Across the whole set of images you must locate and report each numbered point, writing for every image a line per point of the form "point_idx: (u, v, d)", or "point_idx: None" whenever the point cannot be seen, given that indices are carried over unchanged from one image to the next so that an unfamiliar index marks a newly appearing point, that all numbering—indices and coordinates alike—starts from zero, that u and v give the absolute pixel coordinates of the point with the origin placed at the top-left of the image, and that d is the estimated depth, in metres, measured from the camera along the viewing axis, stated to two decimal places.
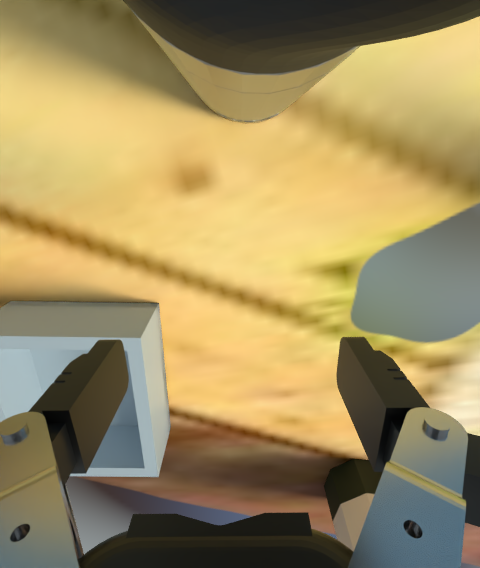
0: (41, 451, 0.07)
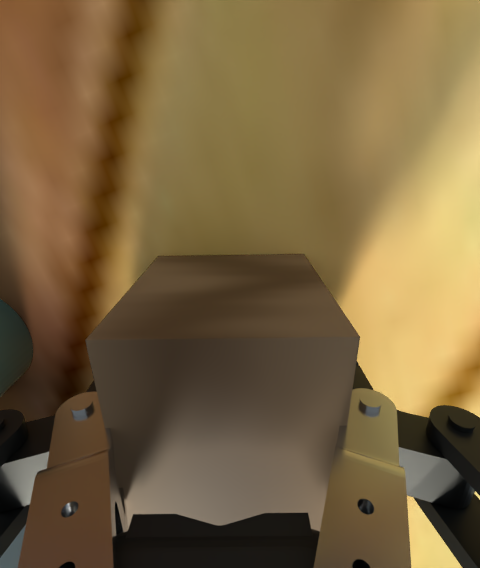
0: (100, 431, 0.07)
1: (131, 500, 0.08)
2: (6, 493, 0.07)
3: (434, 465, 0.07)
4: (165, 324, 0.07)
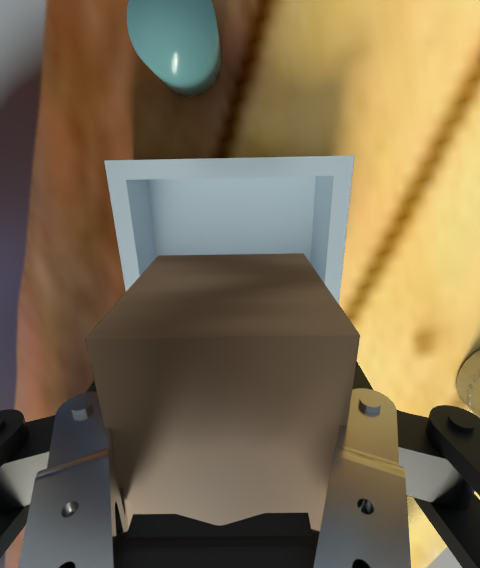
0: (101, 431, 0.07)
1: (131, 499, 0.08)
2: (6, 493, 0.07)
3: (434, 465, 0.07)
4: (165, 323, 0.07)
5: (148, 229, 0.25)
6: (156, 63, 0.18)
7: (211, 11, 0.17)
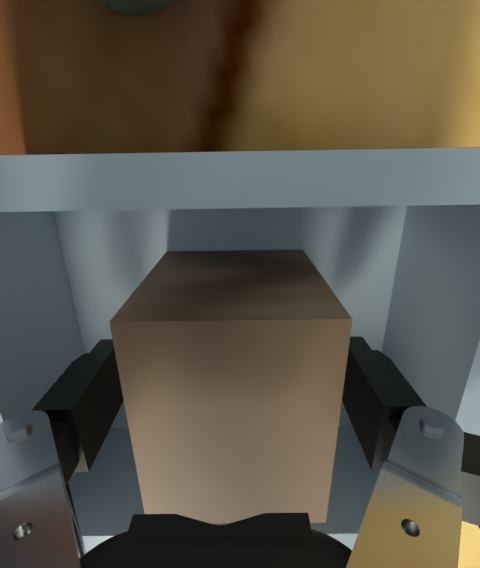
0: (44, 450, 0.07)
1: (146, 470, 0.09)
2: None
3: None
4: (179, 309, 0.08)
5: (53, 305, 0.12)
6: None
7: None
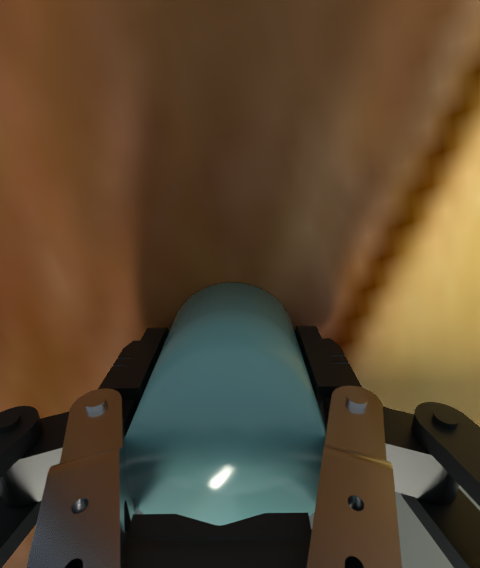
0: (113, 429, 0.07)
1: None
2: (20, 489, 0.07)
3: (418, 460, 0.07)
4: None
5: None
6: None
7: None
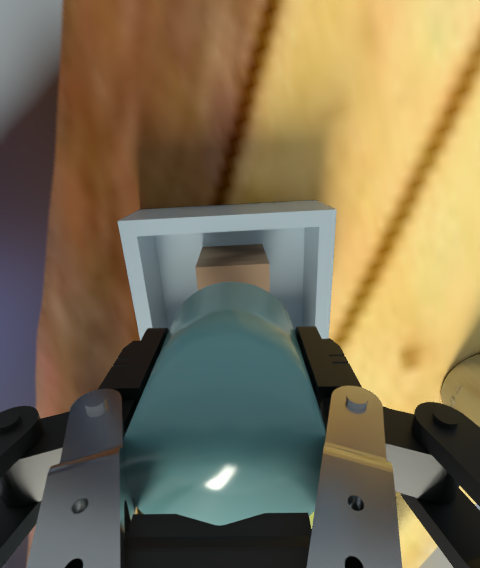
0: (113, 429, 0.07)
1: None
2: (20, 489, 0.07)
3: (418, 461, 0.07)
4: (215, 263, 0.24)
5: (155, 271, 0.28)
6: None
7: None
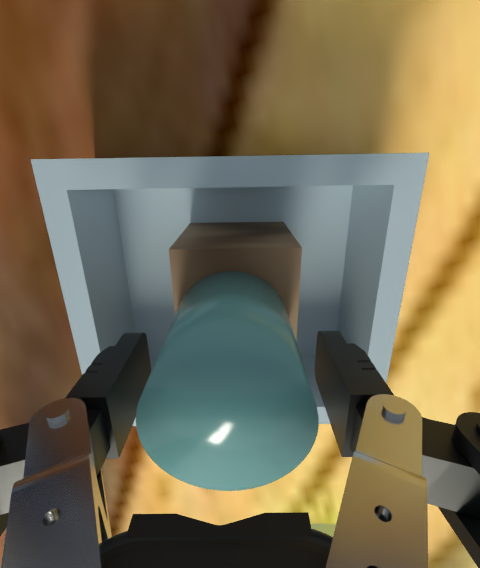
0: (79, 438, 0.07)
1: None
2: None
3: (462, 474, 0.07)
4: (206, 245, 0.14)
5: (114, 258, 0.18)
6: (192, 475, 0.09)
7: (310, 411, 0.08)
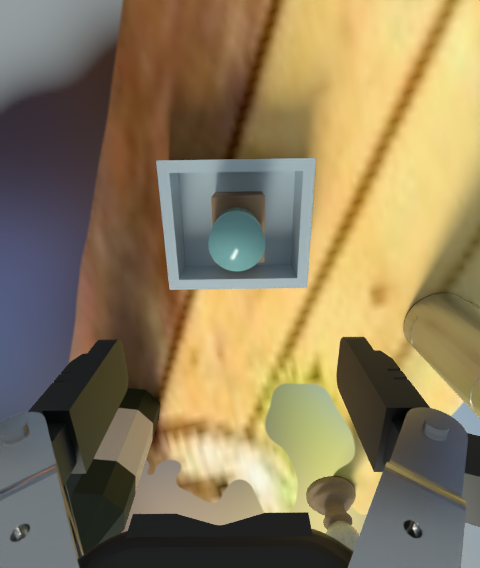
0: (41, 451, 0.07)
1: None
2: None
3: None
4: (226, 196, 0.32)
5: (179, 208, 0.37)
6: (225, 264, 0.28)
7: (262, 237, 0.27)
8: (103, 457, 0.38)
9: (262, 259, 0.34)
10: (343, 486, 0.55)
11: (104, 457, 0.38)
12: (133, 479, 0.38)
